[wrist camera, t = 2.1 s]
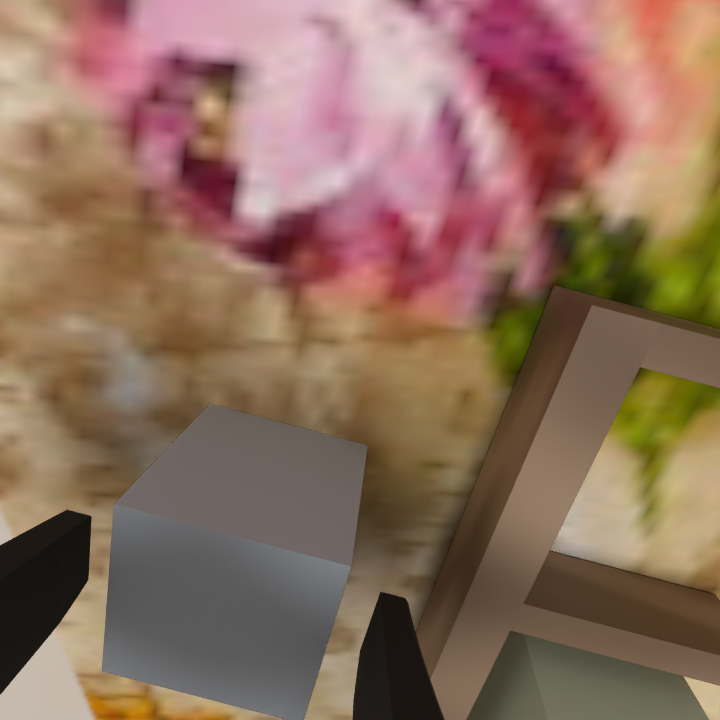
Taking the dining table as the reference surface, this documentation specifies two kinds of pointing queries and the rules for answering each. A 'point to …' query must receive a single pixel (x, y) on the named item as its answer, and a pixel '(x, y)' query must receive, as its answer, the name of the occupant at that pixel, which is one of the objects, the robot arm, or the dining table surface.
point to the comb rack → (565, 511)
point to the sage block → (578, 686)
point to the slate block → (234, 561)
